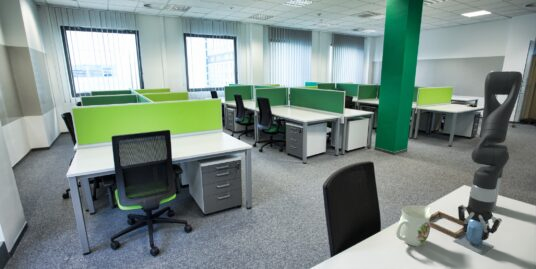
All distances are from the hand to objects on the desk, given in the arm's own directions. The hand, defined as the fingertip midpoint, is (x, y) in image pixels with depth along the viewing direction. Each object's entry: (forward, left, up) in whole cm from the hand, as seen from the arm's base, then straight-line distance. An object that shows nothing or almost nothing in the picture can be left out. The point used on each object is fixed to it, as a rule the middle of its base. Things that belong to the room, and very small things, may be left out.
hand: (474, 235), depth 106 cm
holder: (-5, -13, -4) cm, 14 cm away
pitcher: (+20, -14, -4) cm, 25 cm away
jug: (+1, 0, -2) cm, 2 cm away
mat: (0, 0, -4) cm, 4 cm away
